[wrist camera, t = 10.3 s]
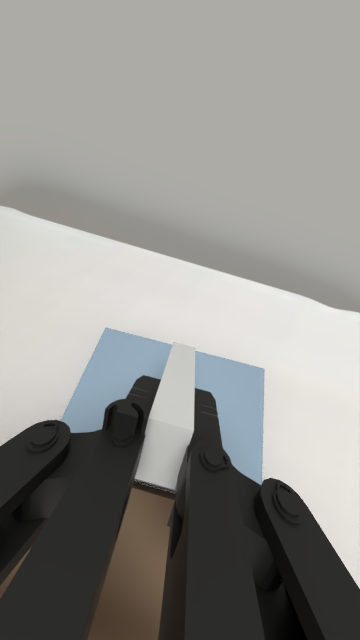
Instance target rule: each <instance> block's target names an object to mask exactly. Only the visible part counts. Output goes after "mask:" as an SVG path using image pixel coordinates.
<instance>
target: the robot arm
mask: <svg viewBox="0 0 360 640" xmlns="http://www.w3.org/2000/svg"><path fill="white" fill-rule="evenodd" d="M134 479H138V480H141V481H145V482H148V483H152V484H155V485H159V486H163V487H166V488H170V489H173V490H175V487H176V484H177V489H176V498H175V501H174V504H173V507H172V510H171V513H170V516H169V520H168V523H167V526H169V527H170V533H169V542H168V551H167V561H166V570H165V580H164V589H163V599H162V608H161V617H160V627H159V636H158V640H360V589H359V587H358V586H357V584H356V583H355V581H354V580H353V578H352V576H351V575H350V573H349V572H348V570H347V569H346V567H345V565H344V564H343V562H342V561H341V559H340V558H339V556H338V554H337V553H336V551H335V550H334V548H333V546H332V545H331V543H330V542H329V540H328V539H327V537H326V535H325V534H324V532H323V531H322V529H321V528H320V526H319V524H318V523H317V521H316V520H315V518H314V516H313V515H312V513H311V512H310V510H309V509H308V507H307V505H306V504H305V503H304V501H303V500H302V499H301V498H300V496H299V495H298V494H297V493H296V492H295V491H294V490H293V489H292V488H291V487H289V486H288V485H287V484H285V483H283V482H282V481H280V480H277V479H273V478H269V479H266V480H264V481H263V483H262V485H260V484H258V483H257V482H255V481H253V480H252V479H250V478H249V477H247V476H245V475H244V474H242V473H241V472H240V471H238V470H237V469H236V468H235V467H234V466H233V465H232V462H231V460H230V457H229V456H228V454H227V453H226V451H225V450H224V449H223V446H222V439H221V433H220V426H219V419H218V413H217V406H216V400H215V398H214V397H213V395H212V394H211V392H209V391H205V390H201V389H197V388H195V348H193V347H189V346H185V345H181V344H177V343H173V346H172V349H171V352H170V355H169V358H168V361H167V364H166V367H165V370H164V373H163V376H162V379H157V378H153V377H149V376H145V375H143V376H141V377H140V378H138V379H136V381H135V383H134V385H133V386H132V388H131V390H130V392H129V394H128V395H127V397H126V399H120V400H116V401H114V402H112V403H110V404H109V405H108V406H107V407H106V408H105V413H104V420H103V426H102V429H100V430H97V431H93V432H82V433H71V431H70V427H69V426H68V425H67V424H66V423H65V422H62V421H58V420H47V421H44V422H40V423H37V424H35V425H33V426H31V427H29V428H27V429H25V430H24V431H22V432H21V433H19V434H18V435H16V436H15V437H13V438H12V439H11V440H9V441H8V442H6V443H5V444H3V445H2V446H0V585H1V584H2V583H3V582H4V580H5V579H6V578H7V577H8V575H9V574H10V573H11V572H12V570H13V569H14V568H15V567H16V565H17V564H18V563H19V562H20V560H21V559H22V558H23V557H24V555H25V554H26V553H27V552H28V550H29V549H30V548H31V549H30V550H29V552H28V554H27V555H26V557H25V559H24V560H23V562H22V564H21V565H20V567H19V569H18V570H17V572H16V574H15V575H14V577H13V579H12V580H11V582H10V584H9V585H8V587H7V589H6V590H5V592H4V594H3V595H2V597H1V599H0V640H87V639H88V636H89V632H90V629H91V626H92V622H93V619H94V615H95V612H96V609H97V605H98V602H99V599H100V595H101V592H102V589H103V585H104V582H105V578H106V575H107V572H108V568H109V565H110V562H111V558H112V555H113V551H114V548H115V545H116V541H117V538H118V535H119V531H120V528H121V525H122V521H123V518H124V514H125V511H126V508H127V504H128V501H129V497H130V493H131V489H132V485H133V482H134Z"/></svg>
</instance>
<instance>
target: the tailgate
mask: <svg viewBox="0 0 360 640" xmlns="http://www.w3.org/2000/svg"><path fill="white" fill-rule="evenodd" d="M172 346H173V345H171V344H167V343H163V342H159V341H155V340H151V339H147V338H144V337H140V336H136V335H132V334H128V333H124V332H120V331H117V330H113V329H109V328H105V330H104V332H103V334H102V336H101V338H100V340H99V342H98V344H97V346H96V348H95V351H94V353H93V355H92V357H91V359H90V361H89V363H88V365H87V367H86V369H85V371H84V373H83V375H82V377H81V379H80V382H79V384H78V386H77V388H76V390H75V392H74V394H73V396H72V398H71V400H70V402H69V404H68V406H67V408H66V410H65V413H64V415H63V417H62V419H61V421H62V422H65V423H66V424H67V425H68V426H69V427H70V431H71V433H82V432H93V431H97V430H100V429H102V426H103V420H104V413H105V408H106V407H107V406H108V405H109V404H110V403H112V402H114V401H116V400H120V399H126V397H127V395H128V394H129V392H130V390H131V388H132V386H133V385H134V383H135V381H136V379H138V378H140V377H141V376H143V375H145V376H149V377H153V378H157V379H162V376H163V373H164V370H165V367H166V364H167V361H168V358H169V355H170V352H171V349H172ZM195 388H197V389H201V390H205V391H209V392H211V394H212V395H213V397H214V398H215V400H216V406H217V413H218V419H219V426H220V433H221V439H222V446H223V449H224V450H225V451H226V453H227V454H228V456H229V457H230V460H231V462H232V465H233V466H234V467H235V468H236V469H237V470H238V471H240V472H241V473H242V474H244V475H245V476H247V477H249V478H250V479H252V480H253V481H255V482H257V483H258V484H260V485H262V453H263V409H264V369H263V368H259V367H255V366H252V365H248V364H244V363H240V362H236V361H232V360H228V359H225V358H221V357H217V356H213V355H209V354H205V353H201V352H198V351H195ZM134 480H137V481H140V482H144V483H147V484H150V485H154V486H157V487H161V488H164V489H167V490H171V491H174V492H176V489H177V484H176V487H175V490H173V489H170V488H166V487H163V486H159V485H155V484H152V483H148V482H145V481H141V480H138V479H134Z"/></svg>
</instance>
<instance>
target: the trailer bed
mask: <svg viewBox="0 0 360 640" xmlns="http://www.w3.org/2000/svg"><path fill="white" fill-rule="evenodd" d="M175 498H176V495H175V494H172V493H168V492H165V491H162V490H158V489H155V488H151V487H148V486H144V485H141V484H138V483H134V482H133V485H132V489H131V493H130V497H129V501H128V504H127V508H126V511H125V514H124V518H123V521H122V525H121V528H120V531H119V535H118V538H117V541H116V545H115V548H114V551H113V555H112V558H111V562H110V565H109V568H108V572H107V575H106V578H105V582H104V585H103V589H102V592H101V595H100V599H99V602H98V605H97V609H96V612H95V615H94V619H93V622H92V626H91V629H90V632H89V636H88V639H87V640H158V636H159V627H160V617H161V608H162V599H163V589H164V580H165V570H166V561H167V551H168V542H169V533H170V527H169V526H167V523H168V520H169V516H170V513H171V510H172V507H173V504H174V501H175ZM30 549H31V548H30ZM30 549H29V550H30ZM29 550H28V552H29ZM28 552H27V553H26V554H25V555H24V557H23V558H22V559H21V560H20V562H19V563H18V564H17V565H16V567H15V568H14V569H13V570H12V572H11V573H10V574H9V575H8V577H7V578H6V579H5V580H4V582H3V583H2V584H1V585H0V599H1V597H2V595H3V594H4V592H5V590H6V589H7V587H8V585H9V584H10V582H11V580H12V579H13V577H14V575H15V574H16V572H17V570H18V569H19V567H20V565H21V564H22V562H23V560H24V559H25V557H26V555H27V554H28Z"/></svg>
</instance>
